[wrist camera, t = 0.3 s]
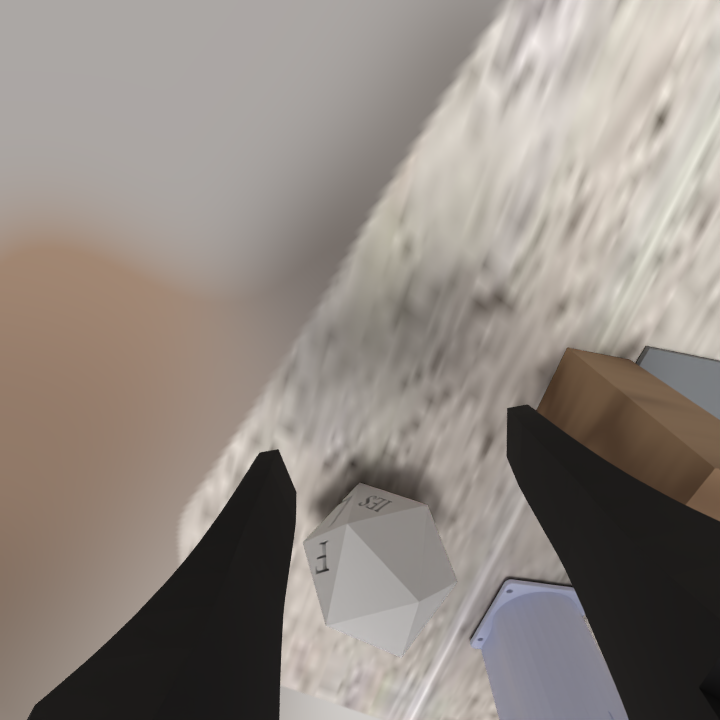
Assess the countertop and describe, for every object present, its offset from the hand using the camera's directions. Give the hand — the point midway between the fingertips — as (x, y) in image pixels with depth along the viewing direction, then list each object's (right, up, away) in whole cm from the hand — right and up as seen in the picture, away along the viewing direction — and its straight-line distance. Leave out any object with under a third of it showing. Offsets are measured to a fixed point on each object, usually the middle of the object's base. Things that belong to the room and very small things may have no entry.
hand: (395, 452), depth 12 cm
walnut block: (+12, +1, +11) cm, 17 cm away
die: (0, -8, +16) cm, 18 cm away
